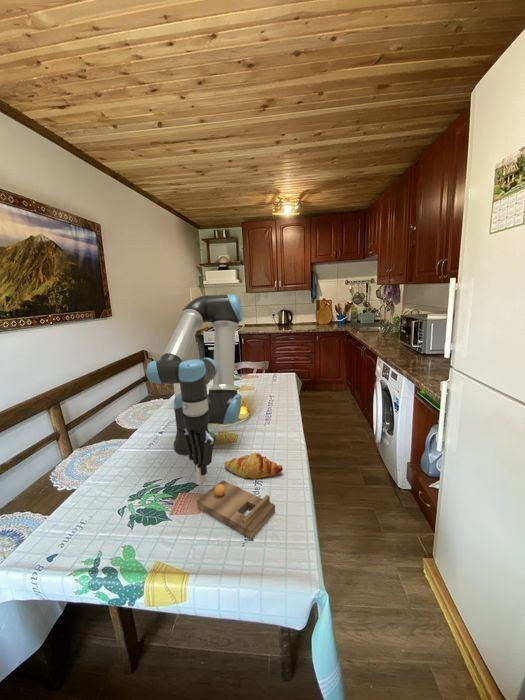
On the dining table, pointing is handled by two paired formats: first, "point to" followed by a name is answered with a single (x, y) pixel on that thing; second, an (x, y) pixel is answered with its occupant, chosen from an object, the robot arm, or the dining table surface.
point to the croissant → (253, 466)
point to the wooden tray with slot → (238, 509)
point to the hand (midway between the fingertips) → (202, 482)
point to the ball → (219, 490)
